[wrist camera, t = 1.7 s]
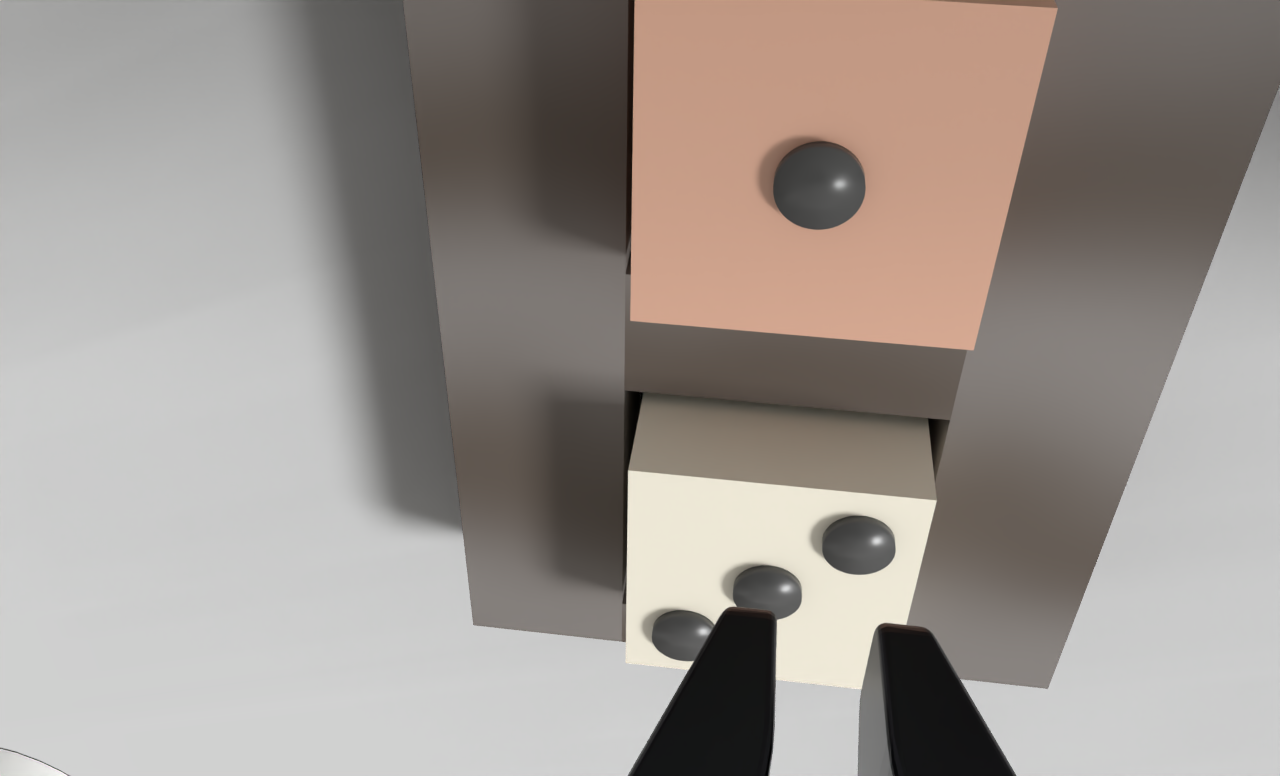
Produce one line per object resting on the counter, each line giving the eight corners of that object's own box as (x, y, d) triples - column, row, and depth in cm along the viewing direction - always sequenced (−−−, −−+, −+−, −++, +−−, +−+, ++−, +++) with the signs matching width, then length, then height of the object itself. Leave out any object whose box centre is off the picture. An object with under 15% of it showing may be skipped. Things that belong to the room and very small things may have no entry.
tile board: (355, -1127, 12) (261, -1250, 10) (1630, -1161, 11) (1811, -1302, 9) (499, 540, 27) (473, 625, 25) (1030, 596, 25) (1047, 688, 24)
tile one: (663, -94, 16) (632, -11, 14) (1021, -75, 16) (1061, 14, 13) (654, 213, 20) (628, 328, 17) (953, 236, 19) (975, 358, 16)
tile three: (651, 355, 21) (626, 478, 19) (923, 379, 21) (937, 509, 18) (645, 542, 25) (624, 670, 22) (882, 566, 24) (890, 701, 21)
